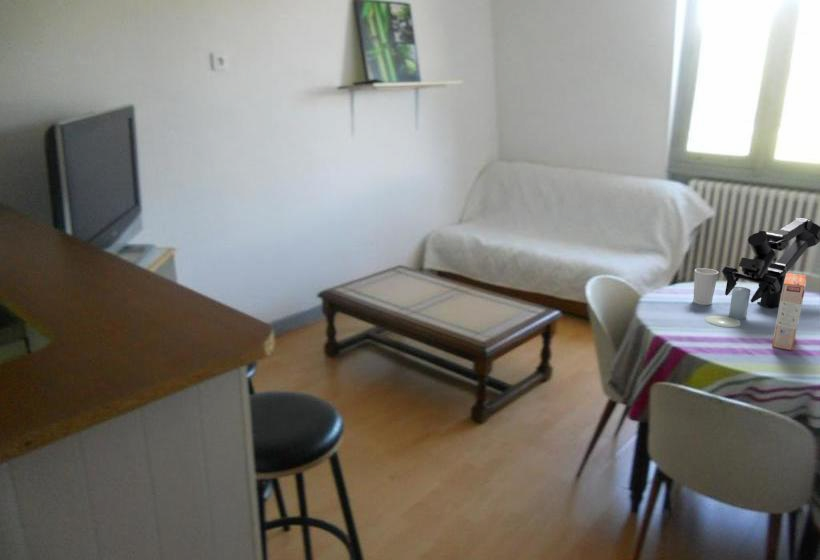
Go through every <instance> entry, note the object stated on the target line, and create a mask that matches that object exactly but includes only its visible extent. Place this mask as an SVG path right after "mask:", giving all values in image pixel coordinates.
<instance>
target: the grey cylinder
mask: <svg viewBox="0 0 820 560" xmlns="http://www.w3.org/2000/svg"><path fill="white" fill-rule="evenodd" d="M750 297H751V289H750V288H747V287H743V286H735V287H733V289H732V291H731V299H730V303H729V304H730V305H729V310H728V311H729V312H728V317H729V316H730V318H731V317H732V318H733V319H736V320H746V319H747V315H748V310H749V309H748V308H749V303H750V302H749V301H750Z"/></svg>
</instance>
